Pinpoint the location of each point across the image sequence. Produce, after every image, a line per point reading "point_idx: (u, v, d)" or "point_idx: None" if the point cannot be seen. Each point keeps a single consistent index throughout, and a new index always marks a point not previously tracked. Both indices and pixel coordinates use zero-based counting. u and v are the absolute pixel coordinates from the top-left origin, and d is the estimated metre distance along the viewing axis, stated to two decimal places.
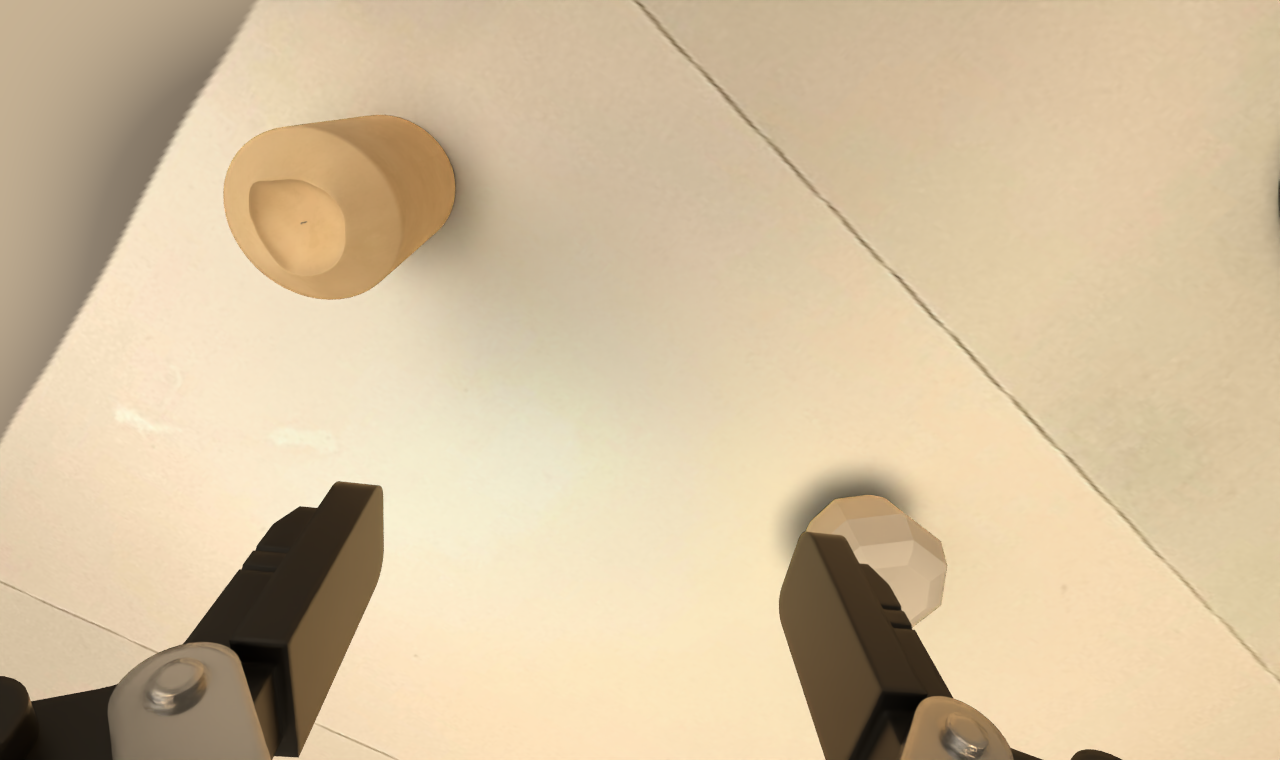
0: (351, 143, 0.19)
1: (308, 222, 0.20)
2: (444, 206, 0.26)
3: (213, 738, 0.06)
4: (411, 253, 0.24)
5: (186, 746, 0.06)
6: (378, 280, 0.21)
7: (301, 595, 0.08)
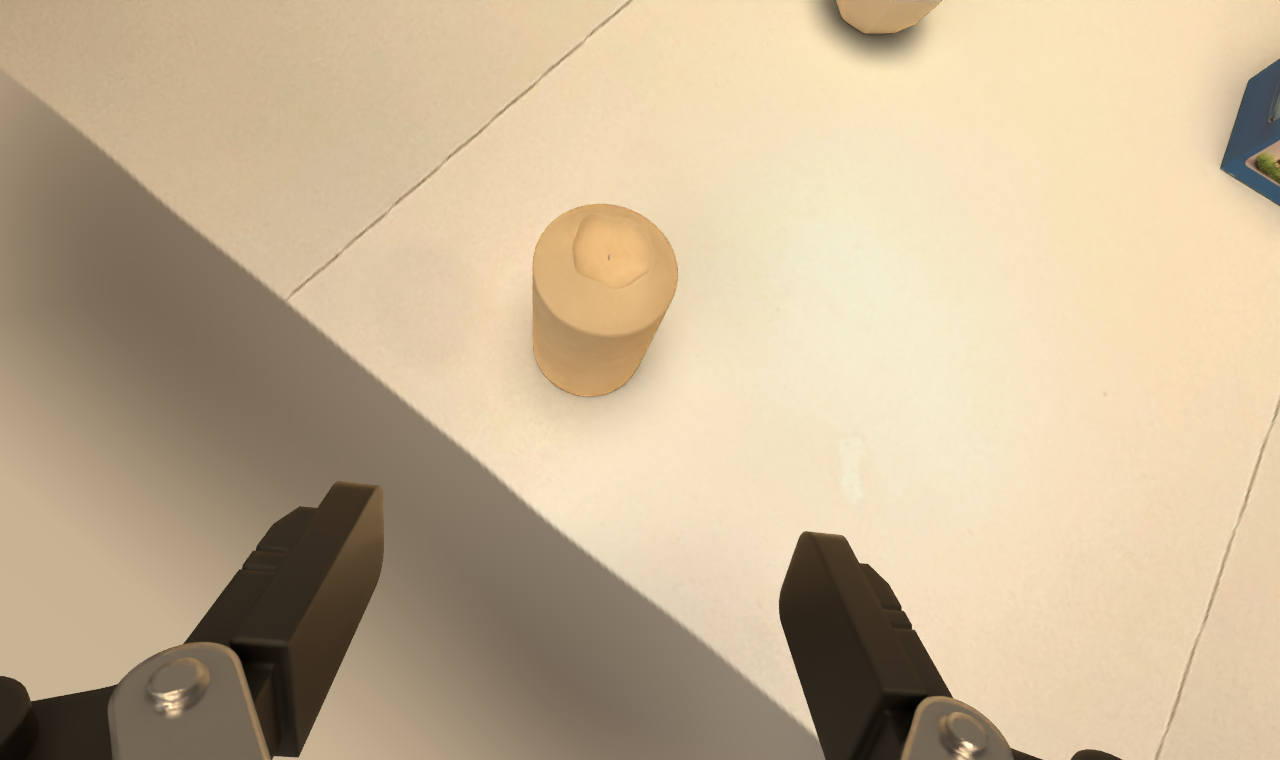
0: (544, 232, 0.24)
1: (609, 257, 0.23)
2: None
3: (212, 738, 0.06)
4: None
5: (186, 746, 0.06)
6: None
7: (301, 595, 0.08)
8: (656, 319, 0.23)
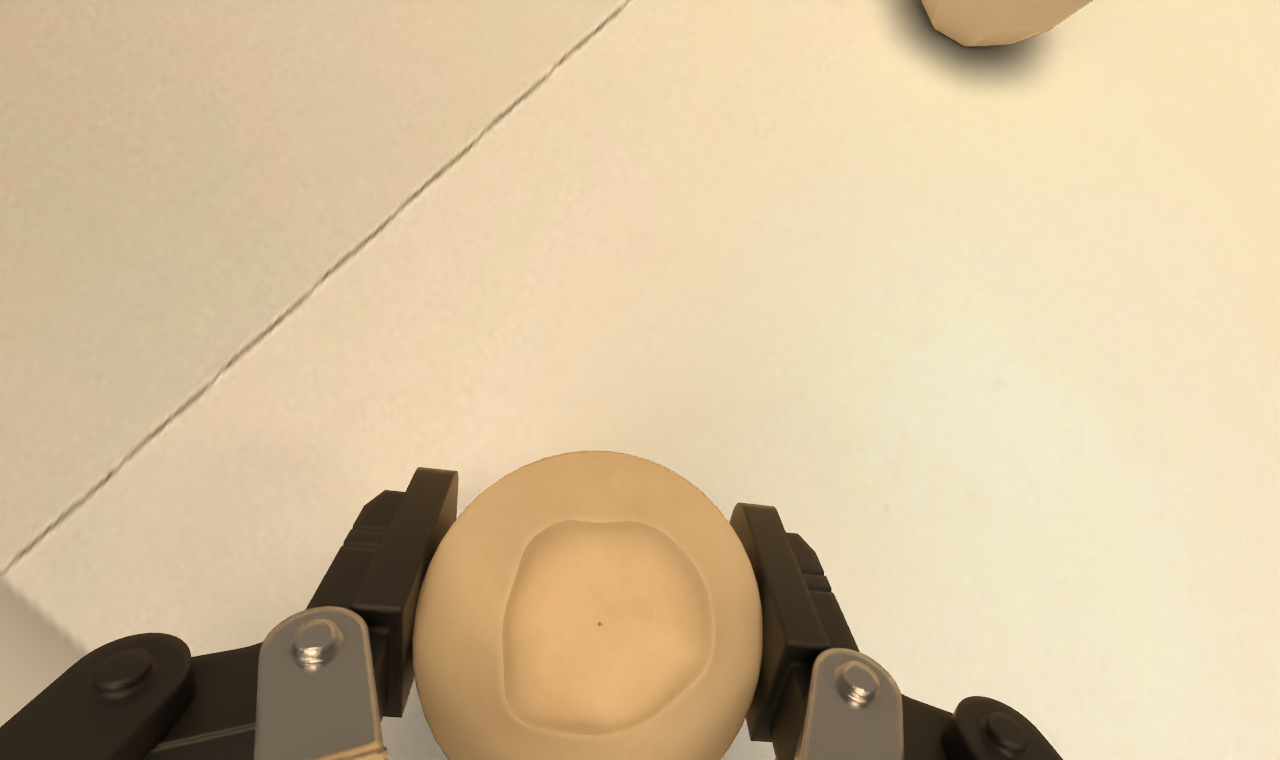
0: (445, 536, 0.10)
1: (600, 617, 0.09)
2: None
3: (355, 689, 0.07)
4: None
5: (314, 700, 0.07)
6: (707, 500, 0.11)
7: (406, 568, 0.09)
8: (721, 754, 0.10)
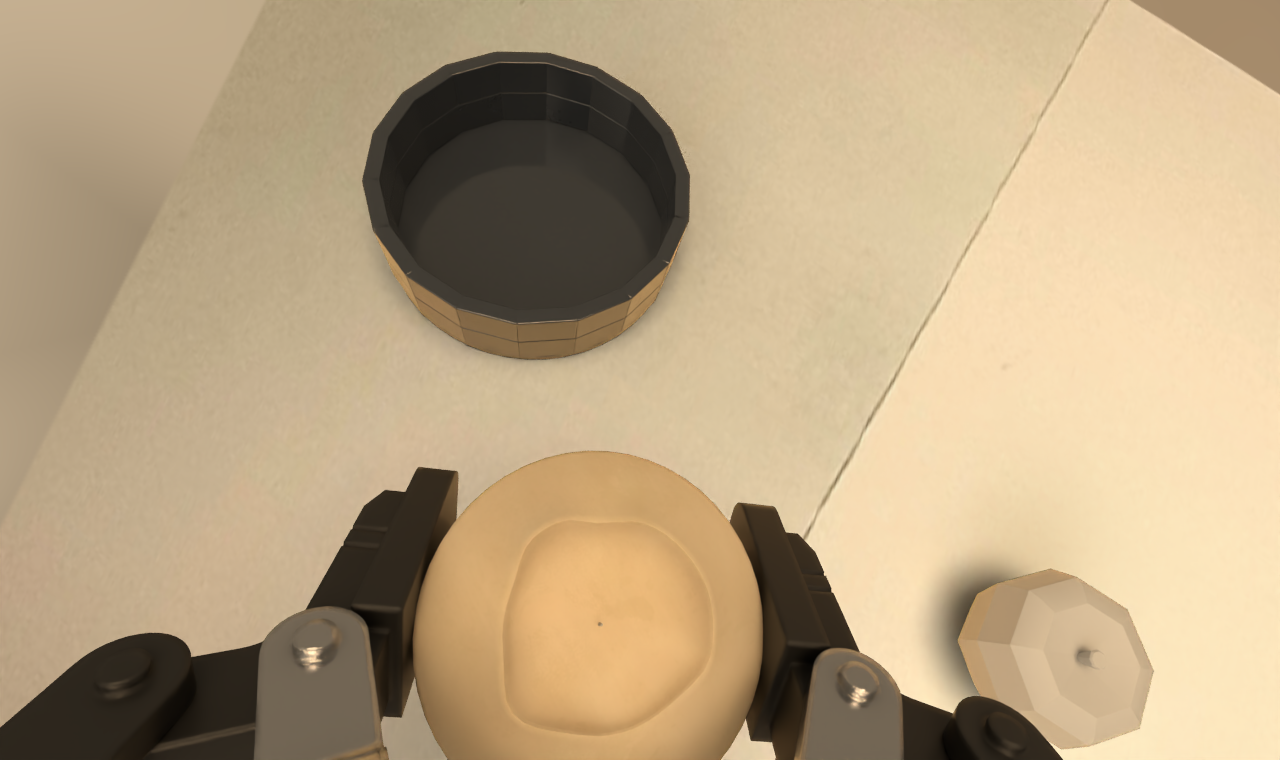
0: (446, 537, 0.10)
1: (600, 618, 0.09)
2: None
3: (356, 688, 0.07)
4: None
5: (314, 700, 0.07)
6: (708, 500, 0.11)
7: (406, 567, 0.09)
8: (722, 754, 0.09)
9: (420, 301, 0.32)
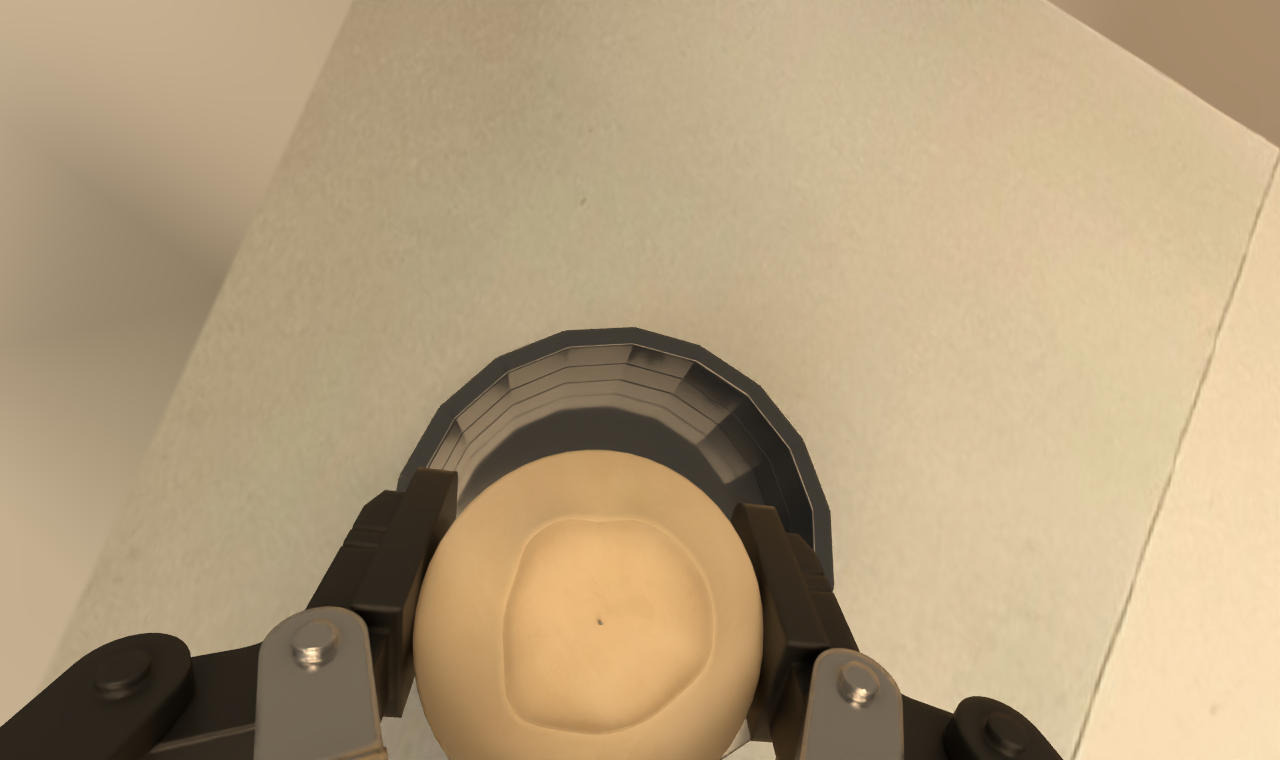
0: (446, 535, 0.10)
1: (601, 616, 0.09)
2: None
3: (355, 689, 0.07)
4: None
5: (314, 700, 0.07)
6: (708, 499, 0.11)
7: (406, 568, 0.09)
8: (722, 753, 0.09)
9: None
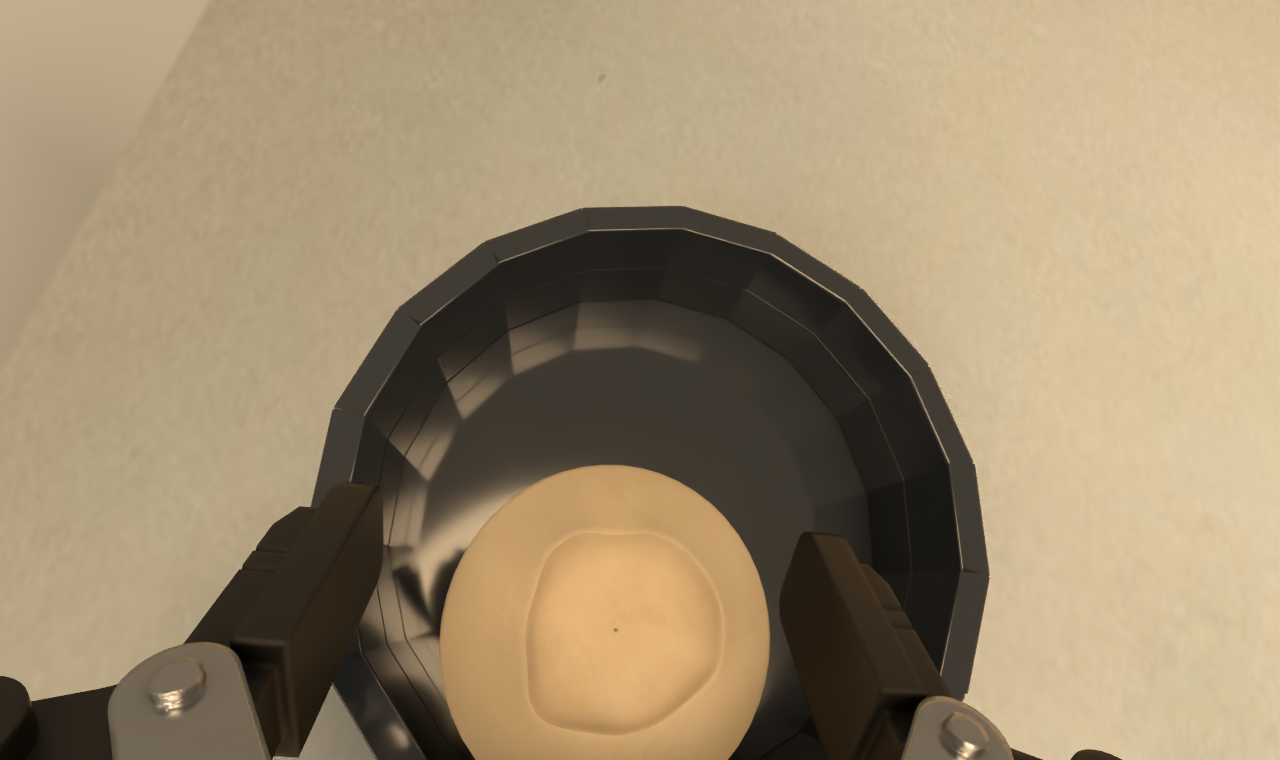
0: (469, 546, 0.11)
1: (615, 624, 0.10)
2: None
3: (213, 738, 0.06)
4: None
5: (186, 746, 0.06)
6: (716, 512, 0.11)
7: (301, 595, 0.08)
8: (730, 753, 0.10)
9: None
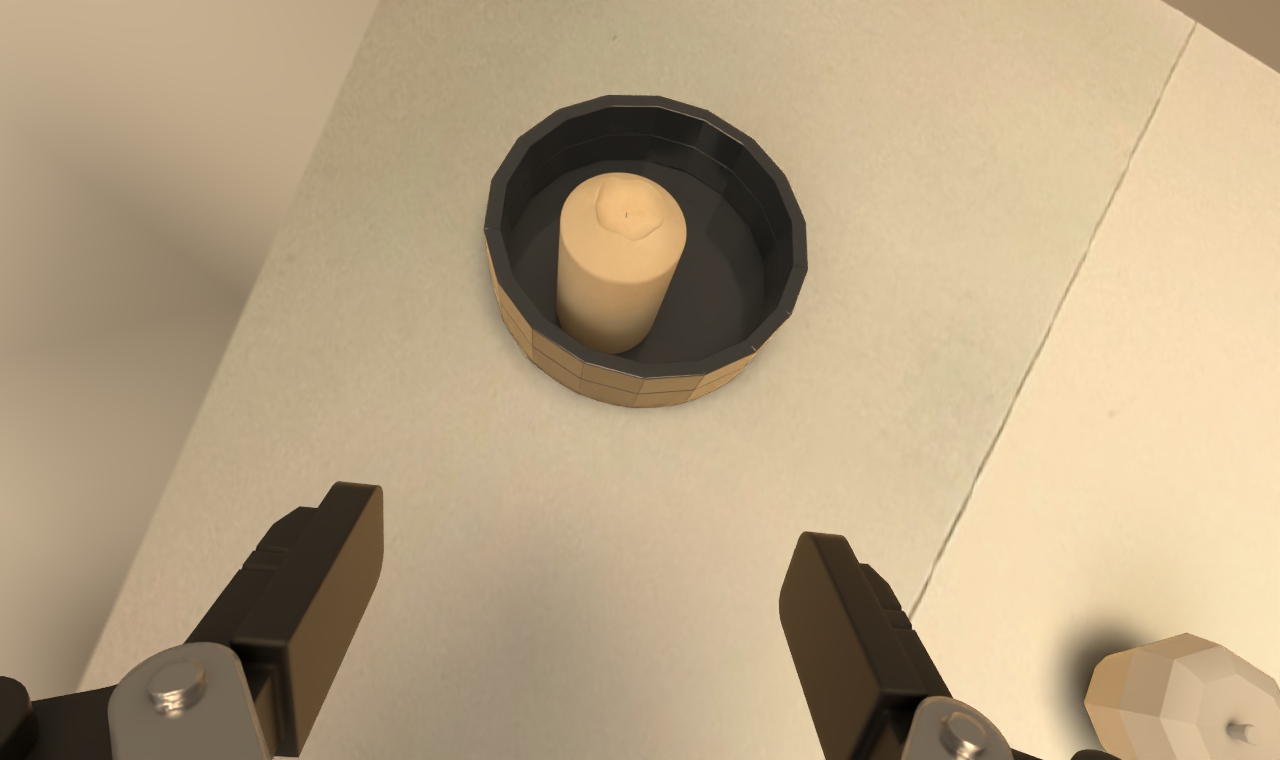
0: (569, 197, 0.27)
1: (626, 215, 0.26)
2: None
3: (213, 738, 0.06)
4: None
5: (186, 746, 0.06)
6: (666, 191, 0.28)
7: (301, 595, 0.08)
8: (669, 268, 0.27)
9: (538, 351, 0.31)
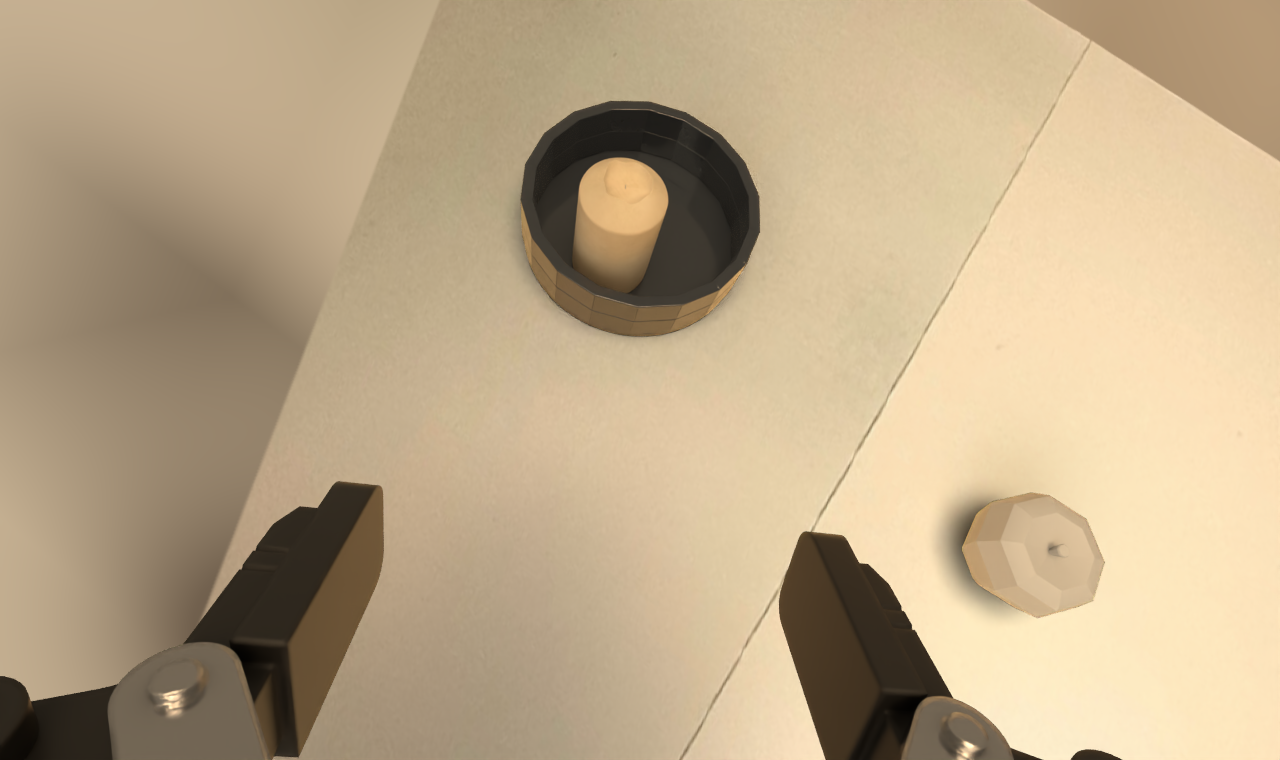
0: (584, 174, 0.38)
1: (625, 187, 0.37)
2: None
3: (213, 738, 0.06)
4: None
5: (186, 746, 0.06)
6: None
7: (301, 595, 0.08)
8: (656, 224, 0.38)
9: (560, 290, 0.42)
